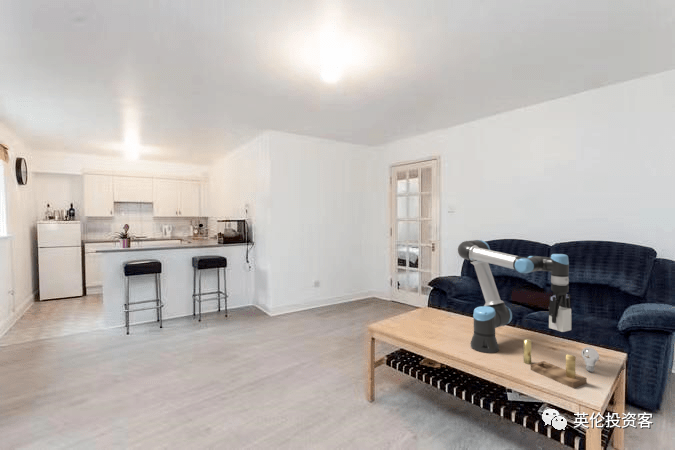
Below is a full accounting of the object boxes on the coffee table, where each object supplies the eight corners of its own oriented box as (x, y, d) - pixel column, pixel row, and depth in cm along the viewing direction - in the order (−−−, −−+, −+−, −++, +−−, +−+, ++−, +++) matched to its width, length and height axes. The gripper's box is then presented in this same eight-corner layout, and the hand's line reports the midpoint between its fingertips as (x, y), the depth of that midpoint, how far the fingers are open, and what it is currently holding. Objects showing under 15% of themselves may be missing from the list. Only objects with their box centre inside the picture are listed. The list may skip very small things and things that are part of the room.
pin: (521, 362, 173) (521, 339, 173) (526, 360, 174) (526, 338, 174) (528, 364, 170) (528, 341, 169) (532, 363, 171) (532, 340, 171)
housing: (548, 327, 172) (548, 307, 172) (557, 326, 175) (557, 305, 174) (562, 332, 165) (562, 310, 165) (571, 330, 168) (571, 308, 168)
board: (530, 369, 164) (530, 346, 164) (543, 365, 168) (543, 342, 168) (573, 388, 146) (573, 361, 146) (586, 383, 150) (586, 357, 150)
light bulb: (591, 368, 165) (591, 344, 165) (602, 374, 158) (602, 350, 158) (577, 368, 165) (577, 345, 164) (588, 375, 158) (588, 350, 157)
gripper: (554, 287, 162) (554, 333, 163) (579, 283, 170) (579, 327, 171) (540, 284, 169) (540, 328, 169) (564, 281, 177) (564, 323, 178)
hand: (559, 327), depth 170 cm, fingers closed on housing, 7 cm apart
